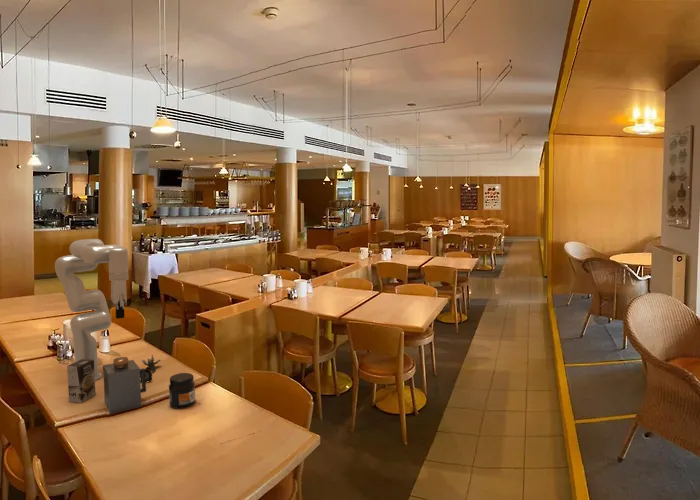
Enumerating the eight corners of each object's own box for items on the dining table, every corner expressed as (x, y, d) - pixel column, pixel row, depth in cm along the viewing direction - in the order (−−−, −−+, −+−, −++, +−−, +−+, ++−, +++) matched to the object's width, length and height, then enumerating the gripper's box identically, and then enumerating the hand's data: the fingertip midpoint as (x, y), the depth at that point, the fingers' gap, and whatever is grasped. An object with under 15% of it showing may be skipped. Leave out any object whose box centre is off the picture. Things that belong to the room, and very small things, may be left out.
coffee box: (81, 403, 211) (79, 366, 209) (68, 401, 212) (66, 365, 210) (96, 394, 220) (94, 359, 218) (83, 393, 221) (81, 358, 219)
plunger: (108, 399, 210) (105, 358, 208) (132, 394, 216) (130, 353, 214) (112, 408, 202) (110, 365, 200) (137, 402, 208) (135, 360, 206)
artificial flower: (134, 386, 232) (128, 366, 232) (150, 374, 255) (144, 355, 255) (153, 380, 233) (147, 360, 233) (167, 369, 256) (161, 350, 255)
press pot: (104, 403, 211) (102, 365, 209) (142, 395, 220) (141, 358, 217) (110, 413, 201) (107, 374, 199) (149, 404, 210) (147, 366, 208)
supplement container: (198, 405, 209) (197, 378, 208) (172, 411, 204) (171, 383, 202) (192, 396, 218) (191, 370, 217) (167, 401, 213) (166, 375, 211)
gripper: (106, 273, 215) (107, 314, 218) (112, 280, 203) (113, 323, 206) (125, 272, 220) (126, 312, 222) (131, 278, 207) (132, 321, 210)
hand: (120, 317), depth 214 cm, fingers closed
